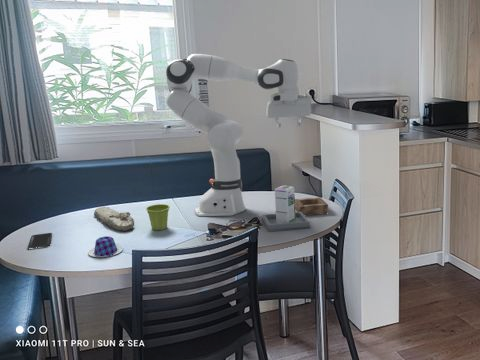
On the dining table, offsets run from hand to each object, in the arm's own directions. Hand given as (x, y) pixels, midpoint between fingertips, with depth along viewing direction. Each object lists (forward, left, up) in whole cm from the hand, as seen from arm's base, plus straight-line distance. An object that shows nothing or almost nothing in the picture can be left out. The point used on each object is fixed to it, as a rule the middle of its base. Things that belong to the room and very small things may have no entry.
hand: (289, 126), depth 222 cm
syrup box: (-10, -36, -34) cm, 50 cm away
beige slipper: (-80, -13, -35) cm, 88 cm away
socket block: (+4, -21, -34) cm, 40 cm away
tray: (-10, -36, -34) cm, 51 cm away
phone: (-105, -33, -35) cm, 115 cm away
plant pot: (-60, -28, -34) cm, 75 cm away
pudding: (-78, -50, -35) cm, 99 cm away
